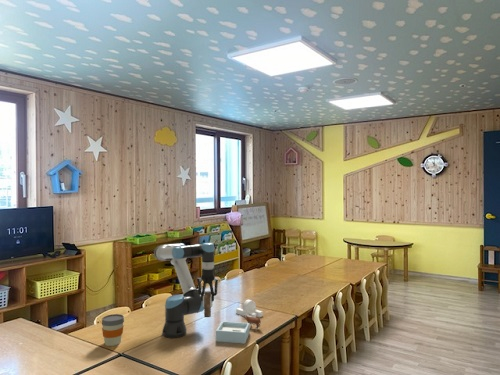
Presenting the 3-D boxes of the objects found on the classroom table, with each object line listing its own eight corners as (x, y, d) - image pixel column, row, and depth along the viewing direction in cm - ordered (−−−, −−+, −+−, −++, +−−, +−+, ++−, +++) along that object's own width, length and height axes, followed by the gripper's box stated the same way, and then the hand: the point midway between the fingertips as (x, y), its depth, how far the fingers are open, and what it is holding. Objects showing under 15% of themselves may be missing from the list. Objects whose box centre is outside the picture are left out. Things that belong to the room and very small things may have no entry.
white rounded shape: (262, 316, 266) (262, 301, 266) (253, 319, 259) (253, 304, 259) (245, 310, 278) (245, 296, 278) (236, 313, 271) (236, 298, 271)
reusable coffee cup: (114, 336, 226) (114, 312, 226) (128, 341, 220) (128, 316, 220) (96, 344, 216) (97, 318, 216) (111, 349, 209) (111, 322, 209)
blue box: (215, 341, 221) (215, 330, 221) (222, 331, 237) (222, 321, 237) (244, 343, 218) (245, 332, 218) (249, 333, 234) (249, 323, 234)
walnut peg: (203, 317, 223) (203, 292, 223) (205, 314, 227) (205, 290, 227) (209, 317, 222) (210, 292, 223) (211, 315, 226) (211, 291, 227)
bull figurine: (246, 324, 249) (246, 312, 249) (261, 329, 241) (261, 316, 241) (242, 326, 246) (242, 314, 246) (257, 331, 237) (257, 318, 238)
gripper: (192, 269, 223) (192, 307, 223) (219, 270, 220) (219, 309, 220) (196, 266, 230) (196, 303, 230) (222, 267, 227) (222, 305, 227)
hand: (207, 306), depth 225 cm, fingers closed on walnut peg, 4 cm apart
